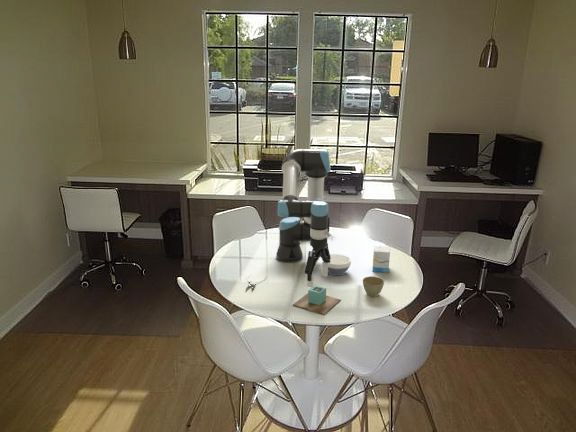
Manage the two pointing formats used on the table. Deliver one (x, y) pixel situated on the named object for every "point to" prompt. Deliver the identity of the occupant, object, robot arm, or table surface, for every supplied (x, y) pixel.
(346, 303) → the table surface
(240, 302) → the table surface
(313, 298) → the collar
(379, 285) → the flower pot
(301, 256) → the robot arm
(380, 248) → the ink box
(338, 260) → the bowl
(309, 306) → the post block
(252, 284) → the pliers
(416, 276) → the table surface
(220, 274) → the table surface
